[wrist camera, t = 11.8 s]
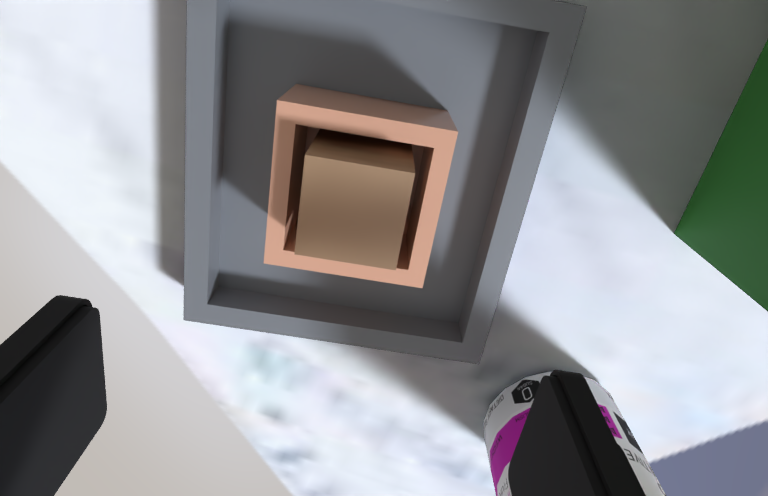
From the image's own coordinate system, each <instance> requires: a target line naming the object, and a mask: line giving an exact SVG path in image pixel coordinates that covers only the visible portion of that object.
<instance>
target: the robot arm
mask: <svg viewBox="0 0 768 496" xmlns="http://www.w3.org/2000/svg"><path fill="white" fill-rule="evenodd" d="M106 411H107V402H106V389H105V376H104V364H103V352H102V338H101V325H100V315H99V310H98V309H97V308H93V307H92V304H91V303H90V301H89V300H87V299H81V298H75V297H68V296H61V295H60V296H56V297H54V298H53V299H51V300H50V301H49V302H48V303H47V304H46V305H45V306H44V307H42V308H41V309H40V310H39V311H38V312H37V313H36V314H35V315H34V316H32V317H31V318H30V319H29V320H28V321H27V322H26V323H25V324H23V325H22V326H21V327H20V328H19V329H18V330H17V331H16V332H14V333H13V334H12V335H11V336H10V337H9V338H8V339H7V340H5V341H4V342H3V343H2V344H1V345H0V496H54V495H55V493H56V492H57V490H58V489H59V487H60V486H61V484H62V483H63V481H64V480H65V479H66V477H67V476H68V474H69V473H70V471H71V470H72V468H73V467H74V465H75V464H76V462H77V461H78V459H79V458H80V456H81V455H82V454H83V452H84V450H85V449H86V448H87V446H88V444H89V443H90V441H91V440H92V439H93V437H94V435H95V434H96V433H97V431H98V430H99V429H100V427H101V425H102V423H103V421H104V419H105V416H106ZM508 480H509V486H510V490H511V494H512V496H646V495H645V493H644V491H643V489H642V487H641V485H640V483H639V481H638V479H637V477H636V475H635V473H634V471H633V469H632V467H631V465H630V463H629V461H628V459H627V457H626V455H625V453H624V451H623V450H622V448H621V447H620V445H618V444H617V442H616V440H615V438H614V436H613V434H612V432H611V430H610V428H609V426H608V424H607V422H606V420H605V418H604V416H603V414H602V412H601V410H600V408H599V406H598V404H597V402H596V400H595V398H594V396H593V394H592V392H591V389H590V387H589V385H588V383H587V381H586V379H585V378H584V376H583V375H582V374H580V373H573V372H566V371H560V370H554V371H553V372H552V373H551V374H550V376H547V375H545V376H543V377H542V379H541V381H540V384H539V387H538V389H537V392H536V395H535V397H534V400H533V403H532V405H531V408H530V411H529V413H528V416H527V419H526V421H525V424H524V426H523V429H522V432H521V434H520V437H519V440H518V442H517V445H516V448H515V450H514V453H513V456H512V458H511V461H510V464H509V469H508Z"/></svg>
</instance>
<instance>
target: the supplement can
mask: <svg viewBox="0 0 768 496" xmlns="http://www.w3.org/2000/svg"><path fill="white" fill-rule="evenodd" d="M551 373H552V372H545V373H540V374H536V375H532V376H528V377H525V378H523V379H521V380H519V381H518V382H516V383H514V384H512V385H511V386H509V387H507V388H505V389H504V390H503V391H502V392H501V393H500V394H499V395H498V397H497V398H496V399H495V400H494V401H493V402H492V403H491V404H490V406H489V409H488V411H487V414H486V416H485V419H484V422H483V424H484V438H485V444H486V448H487V453H488V458H489V463H490V468H491V472H492V477H493V482H494V487H495V492H496V496H512V494H511V490H510V486H509V480H508V469H509V464H510V461H511V458H512V456H513V453H514V450H515V448H516V445H517V442H518V440H519V437H520V434H521V432H522V429H523V426H524V424H525V421H526V419H527V416H528V413H529V411H530V408H531V405H532V403H533V400H534V397H535V395H536V392H537V389H538V387H539V384H540V381H541V379H542V377H543V376H545V375H547V376H550V374H551ZM584 378H585V379H586V381H587V383H588V385H589V387H590V389H591V392H592V394H593V396H594V398H595V400H596V402H597V404H598V406H599V408H600V410H601V412H602V414H603V416H604V418H605V420H606V422H607V424H608V426H609V428H610V430H611V432H612V434H613V436H614V438H615V440H616V442H617V444H618V445H620V447H621V448H622V450H623V451H624V453H625V455H626V457H627V459H628V461H629V463H630V465H631V467H632V469H633V471H634V473H635V475H636V477H637V479H638V481H639V483H640V485H641V487H642V489H643V491H644V493H645V495H646V496H666V494H665V493H664V491H663V489H662V487H661V485H660V484H659V482H658V480H657V478H656V476H655V474H654V472H653V471H652V469H651V467H650V465H649V463H648V462H647V460H646V458H645V456H644V454H643V453H642V451H641V449H640V447H639V445H638V444H637V442H636V440H635V438H634V436H633V434H632V433H631V431H630V429H629V427H628V425H627V424H626V422H625V420H624V418H623V416H622V415H621V413H620V411H619V409H618V407H617V406H616V404H615V402H614V400H613V398H612V396H611V395H610V393H609V392H608V391H606V390H605V389H604V388H603V387H602V386H601V385H600V384H598V383H597V382H596V381H595V380H593V379H590V378H587V377H584Z"/></svg>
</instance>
